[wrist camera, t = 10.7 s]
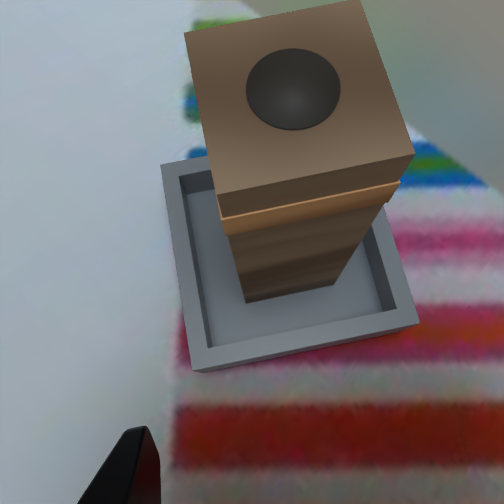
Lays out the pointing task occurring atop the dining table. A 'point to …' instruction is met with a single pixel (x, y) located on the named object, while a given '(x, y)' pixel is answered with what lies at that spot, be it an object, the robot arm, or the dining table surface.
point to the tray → (280, 308)
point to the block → (297, 141)
